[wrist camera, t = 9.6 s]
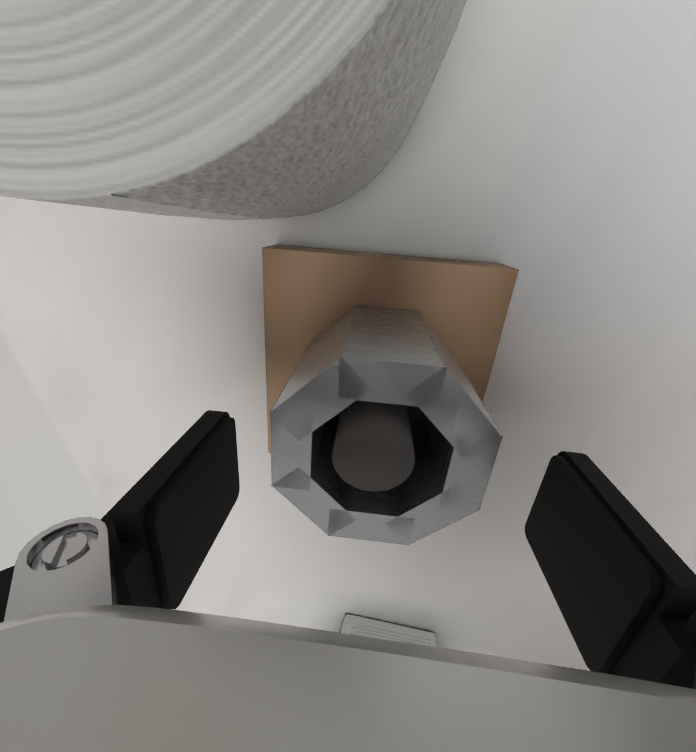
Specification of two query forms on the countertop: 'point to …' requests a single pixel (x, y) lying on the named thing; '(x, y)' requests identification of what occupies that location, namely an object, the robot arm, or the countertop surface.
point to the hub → (393, 386)
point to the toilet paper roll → (211, 100)
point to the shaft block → (381, 289)
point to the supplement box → (386, 631)
